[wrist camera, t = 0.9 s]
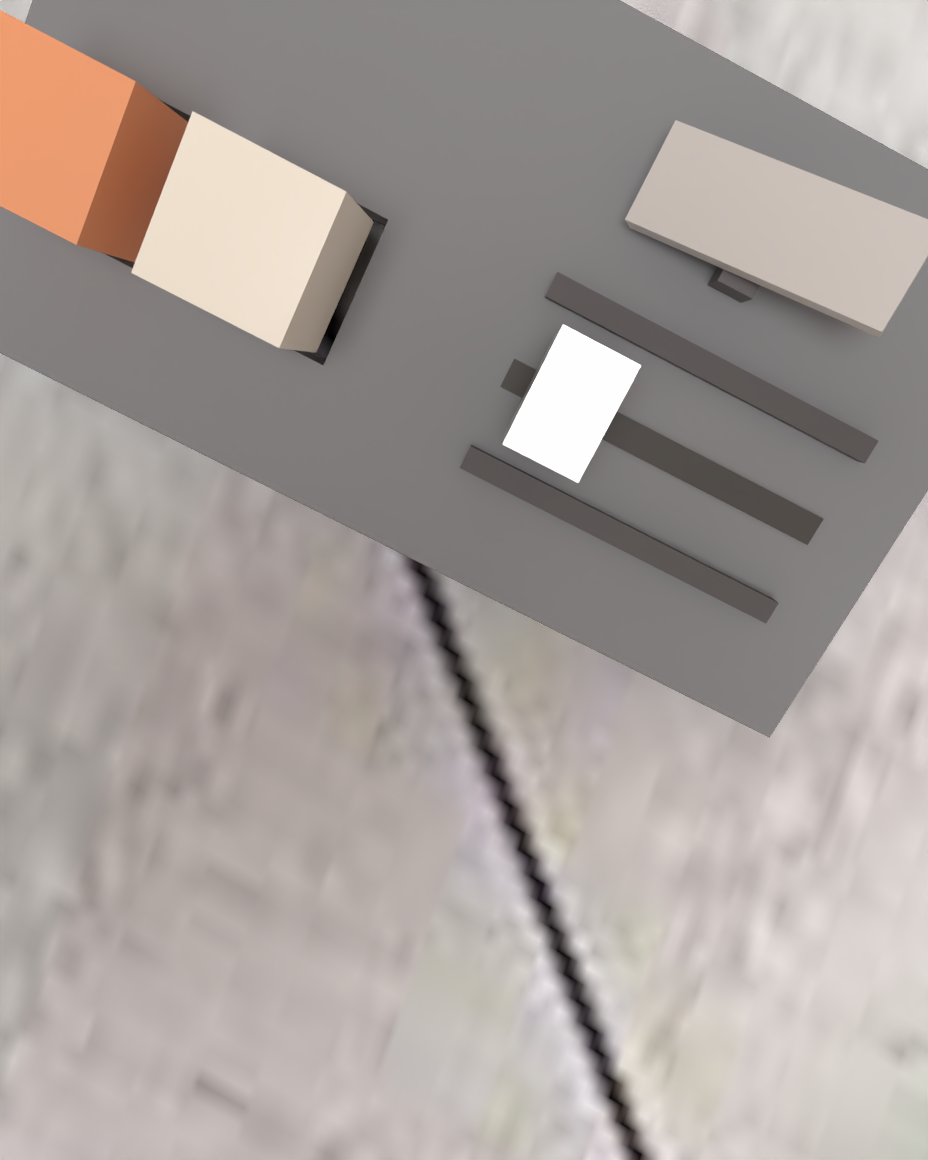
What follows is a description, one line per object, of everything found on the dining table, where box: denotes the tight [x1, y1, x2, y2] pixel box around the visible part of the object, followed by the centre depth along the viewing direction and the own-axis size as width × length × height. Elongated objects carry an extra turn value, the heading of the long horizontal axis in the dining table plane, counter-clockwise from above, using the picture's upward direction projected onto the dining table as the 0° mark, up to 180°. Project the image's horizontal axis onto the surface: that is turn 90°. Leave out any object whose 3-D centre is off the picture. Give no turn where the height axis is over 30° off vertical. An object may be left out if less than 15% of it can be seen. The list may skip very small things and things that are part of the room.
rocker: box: [625, 120, 928, 338], centre depth 25 cm, size 8×3×1 cm, turn 63°
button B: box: [131, 111, 374, 353], centre depth 25 cm, size 4×4×5 cm
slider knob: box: [503, 325, 641, 483], centre depth 26 cm, size 2×4×4 cm, turn 153°
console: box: [0, 0, 928, 737], centre depth 28 cm, size 32×18×4 cm, turn 63°
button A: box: [0, 10, 188, 262], centre depth 25 cm, size 4×4×5 cm
